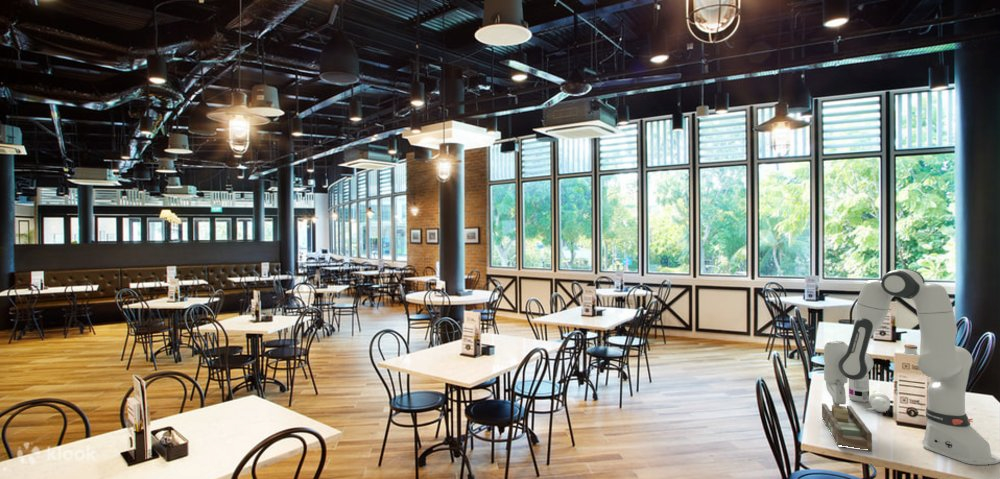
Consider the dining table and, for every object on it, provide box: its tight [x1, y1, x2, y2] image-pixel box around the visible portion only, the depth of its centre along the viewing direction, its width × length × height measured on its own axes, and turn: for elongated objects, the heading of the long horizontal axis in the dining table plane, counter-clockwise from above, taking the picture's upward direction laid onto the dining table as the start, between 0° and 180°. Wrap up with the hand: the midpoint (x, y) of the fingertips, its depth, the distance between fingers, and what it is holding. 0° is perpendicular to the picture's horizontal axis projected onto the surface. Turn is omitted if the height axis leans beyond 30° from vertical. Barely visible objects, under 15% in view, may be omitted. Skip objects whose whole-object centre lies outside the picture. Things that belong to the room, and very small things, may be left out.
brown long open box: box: [821, 403, 873, 451], centre depth 210 cm, size 32×11×7 cm, turn 157°
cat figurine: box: [865, 391, 891, 413], centre depth 235 cm, size 9×11×12 cm
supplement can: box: [848, 372, 870, 403], centre depth 249 cm, size 8×8×15 cm
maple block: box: [831, 404, 848, 419], centre depth 218 cm, size 5×5×4 cm
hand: (836, 407), depth 225 cm, fingers closed
